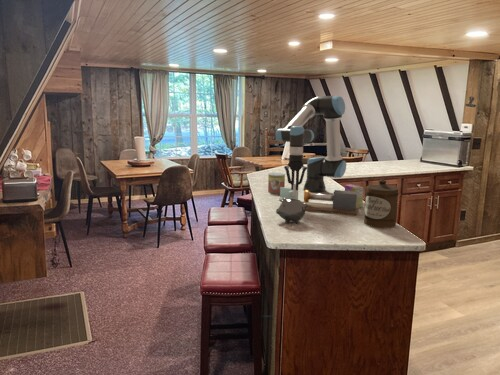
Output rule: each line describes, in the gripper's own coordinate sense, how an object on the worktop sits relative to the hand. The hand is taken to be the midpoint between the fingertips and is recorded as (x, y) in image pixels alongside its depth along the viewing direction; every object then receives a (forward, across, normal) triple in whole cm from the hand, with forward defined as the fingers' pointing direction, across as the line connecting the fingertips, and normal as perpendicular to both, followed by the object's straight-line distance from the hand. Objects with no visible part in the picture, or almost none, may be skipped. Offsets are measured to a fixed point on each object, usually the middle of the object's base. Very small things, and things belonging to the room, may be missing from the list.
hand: (294, 195), depth 220 cm
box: (+7, +32, +15) cm, 36 cm away
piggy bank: (+7, +5, -33) cm, 34 cm away
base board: (+6, +16, 0) cm, 17 cm away
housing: (+5, +28, 0) cm, 28 cm away
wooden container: (+7, +46, -21) cm, 51 cm away
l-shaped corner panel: (+7, -8, +14) cm, 17 cm away
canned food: (+7, -20, +40) cm, 45 cm away
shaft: (+3, +16, 0) cm, 17 cm away
